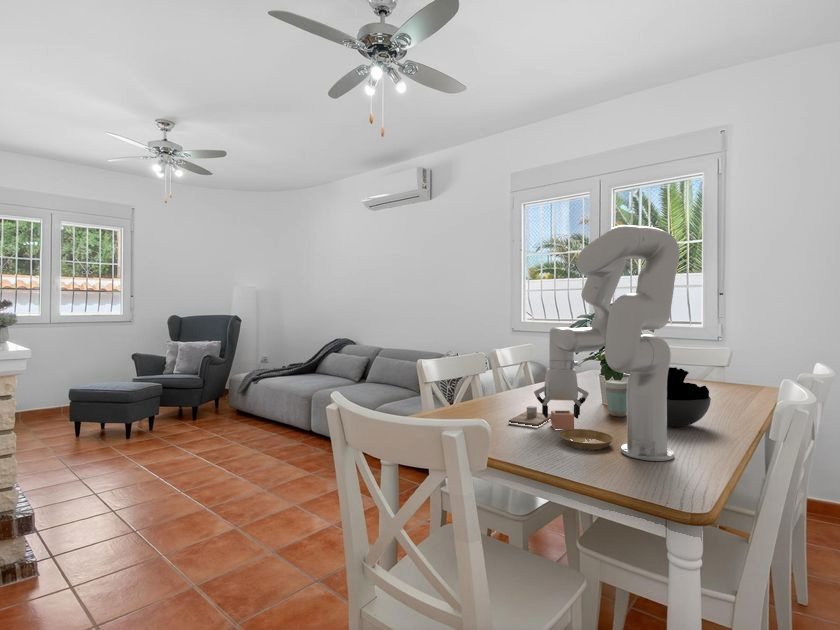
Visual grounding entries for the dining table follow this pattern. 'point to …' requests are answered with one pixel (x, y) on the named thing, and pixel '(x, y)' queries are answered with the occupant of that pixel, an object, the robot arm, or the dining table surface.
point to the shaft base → (530, 417)
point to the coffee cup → (616, 397)
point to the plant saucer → (582, 434)
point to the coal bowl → (685, 399)
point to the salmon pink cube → (562, 420)
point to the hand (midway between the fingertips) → (560, 417)
